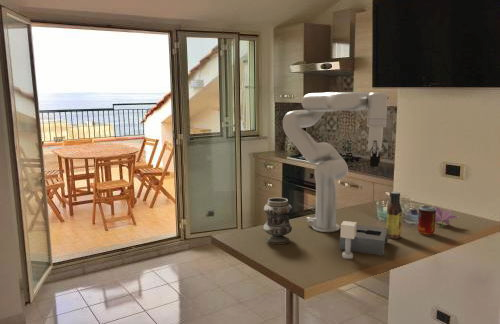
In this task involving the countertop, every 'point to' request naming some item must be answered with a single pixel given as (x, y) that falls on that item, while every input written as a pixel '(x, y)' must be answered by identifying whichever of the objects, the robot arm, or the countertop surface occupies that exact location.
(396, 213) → the sauce bottle
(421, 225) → the soda can
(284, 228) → the apothecary jar
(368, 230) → the slotted grey box
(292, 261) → the countertop surface
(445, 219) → the lily
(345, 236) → the peg
